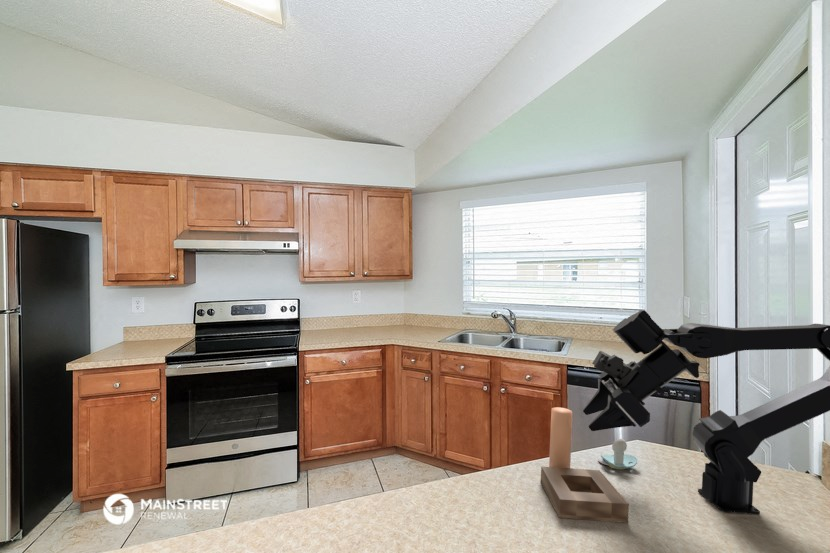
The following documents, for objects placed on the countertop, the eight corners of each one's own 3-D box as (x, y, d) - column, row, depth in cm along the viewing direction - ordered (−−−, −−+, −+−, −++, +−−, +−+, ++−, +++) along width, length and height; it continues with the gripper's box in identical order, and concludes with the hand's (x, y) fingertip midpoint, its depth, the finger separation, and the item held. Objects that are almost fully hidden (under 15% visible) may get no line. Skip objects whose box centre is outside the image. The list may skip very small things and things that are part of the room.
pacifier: (591, 459, 85) (608, 472, 79) (592, 431, 85) (608, 441, 79) (622, 459, 86) (641, 472, 80) (623, 431, 86) (641, 441, 80)
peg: (565, 467, 80) (568, 407, 80) (572, 477, 76) (575, 414, 76) (546, 466, 81) (549, 406, 81) (552, 476, 77) (555, 413, 77)
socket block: (598, 485, 74) (599, 470, 74) (627, 522, 63) (628, 504, 63) (540, 481, 74) (541, 466, 74) (559, 517, 63) (560, 499, 63)
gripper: (612, 333, 84) (556, 377, 88) (632, 347, 66) (560, 401, 70) (651, 373, 82) (592, 417, 85) (683, 399, 64) (606, 453, 67)
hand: (587, 420), depth 77 cm, fingers open, 9 cm apart
